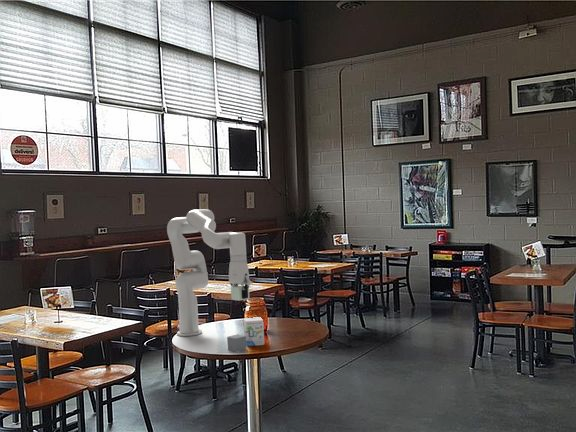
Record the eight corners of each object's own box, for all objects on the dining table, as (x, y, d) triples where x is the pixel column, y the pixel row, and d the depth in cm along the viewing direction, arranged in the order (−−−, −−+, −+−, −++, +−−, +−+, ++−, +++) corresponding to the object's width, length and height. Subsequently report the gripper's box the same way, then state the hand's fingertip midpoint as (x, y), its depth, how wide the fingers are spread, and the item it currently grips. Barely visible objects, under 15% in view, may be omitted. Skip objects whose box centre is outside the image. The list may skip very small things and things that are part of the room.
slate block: (227, 350, 258) (227, 336, 258) (238, 347, 262) (237, 334, 262) (236, 352, 254) (235, 338, 254) (246, 349, 258) (245, 336, 258)
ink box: (246, 346, 263) (245, 321, 263) (244, 342, 271) (243, 317, 271) (264, 344, 265) (263, 319, 264) (262, 340, 273) (260, 316, 273)
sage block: (231, 299, 267) (230, 286, 267) (241, 297, 271) (240, 285, 271) (239, 300, 263) (238, 287, 262) (249, 298, 267) (248, 285, 267)
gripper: (220, 259, 270) (222, 297, 271) (243, 260, 258) (245, 300, 258) (233, 257, 275) (235, 295, 276) (256, 258, 263) (258, 298, 263)
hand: (240, 297), depth 267 cm, fingers closed on sage block, 6 cm apart
